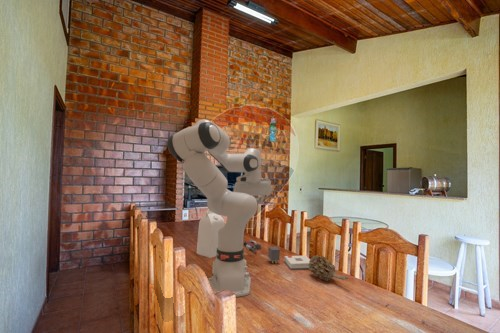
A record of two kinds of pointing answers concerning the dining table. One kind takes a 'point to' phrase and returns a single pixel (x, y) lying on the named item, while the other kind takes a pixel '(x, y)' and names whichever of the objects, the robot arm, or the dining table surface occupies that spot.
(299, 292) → the dining table surface
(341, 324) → the dining table surface
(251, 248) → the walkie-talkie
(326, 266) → the pine cone
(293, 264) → the socket
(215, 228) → the milk
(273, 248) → the plug
